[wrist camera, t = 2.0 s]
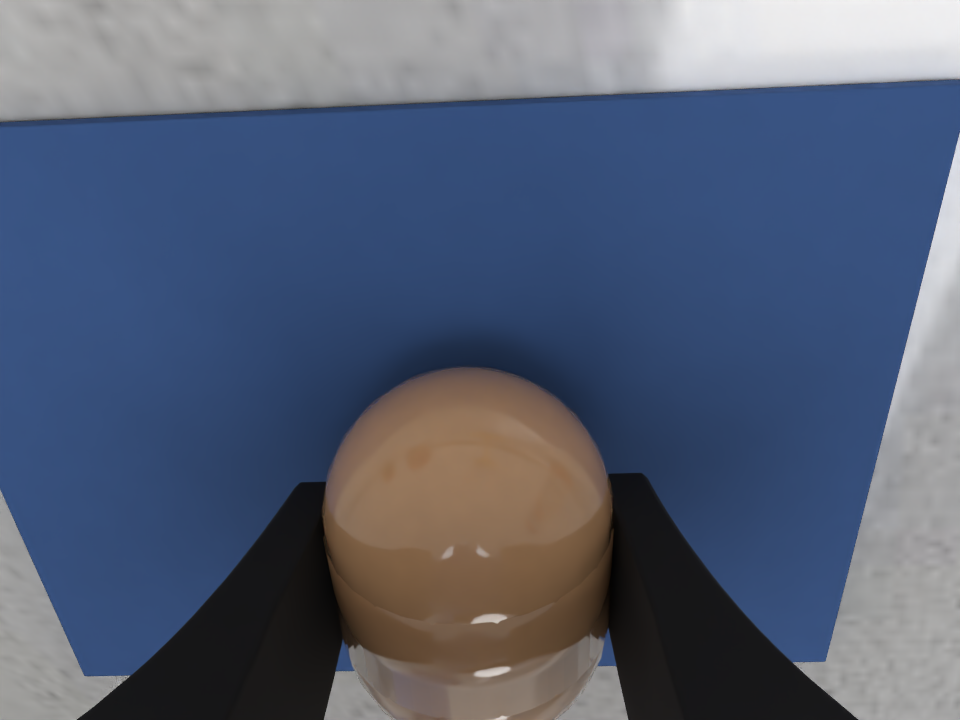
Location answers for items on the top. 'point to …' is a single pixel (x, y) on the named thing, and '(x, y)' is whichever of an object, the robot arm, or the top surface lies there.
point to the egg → (470, 548)
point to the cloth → (458, 320)
